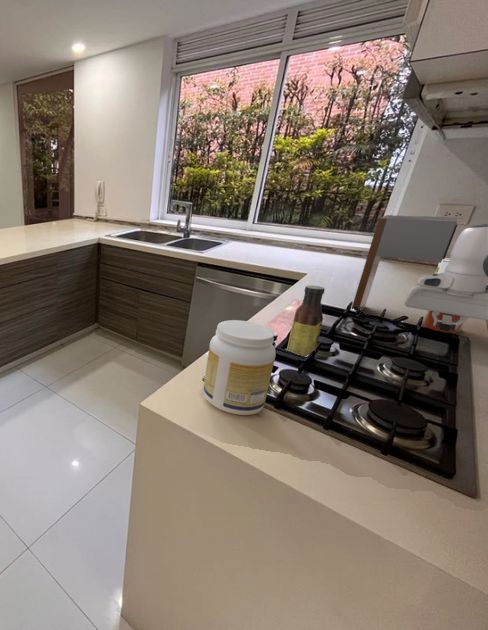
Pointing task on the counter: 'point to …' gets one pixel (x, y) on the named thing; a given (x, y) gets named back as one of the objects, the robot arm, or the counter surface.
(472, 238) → the robot arm
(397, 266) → the counter surface
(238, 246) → the counter surface
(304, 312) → the sauce bottle
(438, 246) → the flag
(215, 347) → the supplement tub
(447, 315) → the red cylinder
